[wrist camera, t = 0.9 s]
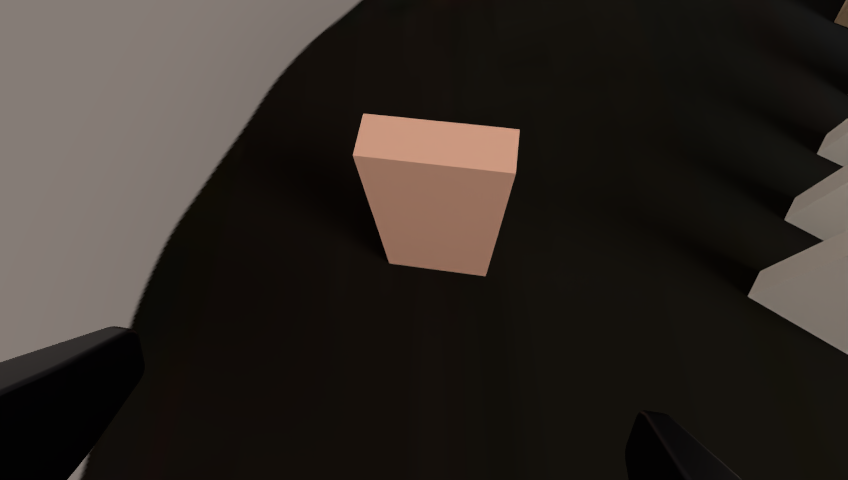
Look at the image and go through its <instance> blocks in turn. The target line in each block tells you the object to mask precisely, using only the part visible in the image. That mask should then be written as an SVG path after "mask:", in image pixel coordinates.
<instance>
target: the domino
mask: <svg viewBox="0 0 848 480" xmlns="http://www.w3.org/2000/svg"><path fill="white" fill-rule="evenodd" d="M519 131H520V129H510V128H500V127H490V126H480V125H470V124H461V123H451V122H441V121H431V120H421V119H411V118H402V117H392V116H382V115H372V114H363V117H362V121H361V125H360V129H359V133H358V137H357V141H356V145H355V149H354V153H353V157H354V160H355V163H356V166H357V169H358V172H359V175H360V178H361V181H362V184H363V187H364V190H365V193H366V196H367V199H368V202H369V205H370V208H371V211H372V214H373V216H374V219H375V222H376V225H377V228H378V231H379V234H380V237H381V240H382V243H383V246H384V249H385V252H386V255H387V258H388V261H389V263H391V264H399V265H406V266H413V267H421V268H428V269H436V270H443V271H451V272H458V273H466V274H473V275H481V276H486V273H487V269H488V266H489V263H490V259H491V256H492V253H493V249H494V246H495V242H496V239H497V236H498V232H499V229H500V225H501V222H502V219H503V215H504V212H505V208H506V205H507V202H508V198H509V195H510V192H511V188H512V185H513V181H514V178H515V175H516V166H517V154H518V143H519Z"/></svg>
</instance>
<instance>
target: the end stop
mask: <svg viewBox="0 0 848 480" xmlns="http://www.w3.org/2000/svg"><path fill="white" fill-rule="evenodd" d="M834 22H835V23H837V24H840V25H842V26H845V27H847V28H848V0H846V1H845V3H844V5H843V6H842V8H841V10H840V12H839V14H838V16H837V17H836V19H835V21H834Z"/></svg>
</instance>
